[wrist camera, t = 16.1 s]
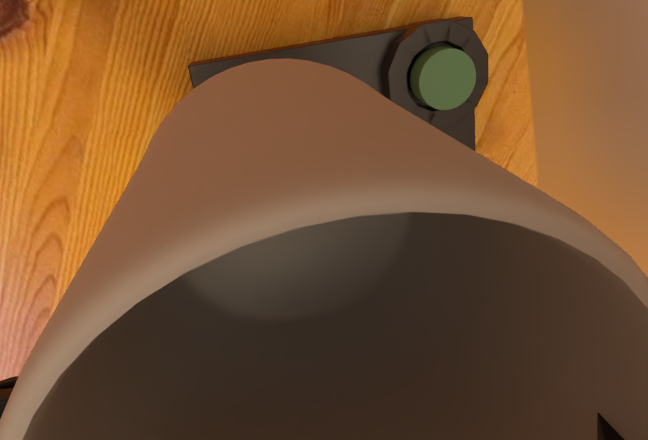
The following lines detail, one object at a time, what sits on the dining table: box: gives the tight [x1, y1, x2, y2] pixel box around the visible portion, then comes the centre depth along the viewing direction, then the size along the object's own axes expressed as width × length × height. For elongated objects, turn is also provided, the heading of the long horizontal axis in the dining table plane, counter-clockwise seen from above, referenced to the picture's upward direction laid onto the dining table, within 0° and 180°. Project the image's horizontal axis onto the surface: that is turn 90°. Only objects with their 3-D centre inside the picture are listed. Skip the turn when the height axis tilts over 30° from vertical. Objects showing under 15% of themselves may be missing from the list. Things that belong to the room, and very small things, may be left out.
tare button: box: [410, 46, 476, 110], centre depth 31 cm, size 4×4×2 cm
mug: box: [0, 58, 648, 440], centre depth 12 cm, size 12×8×11 cm
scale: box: [188, 17, 488, 151], centre depth 34 cm, size 18×16×4 cm
